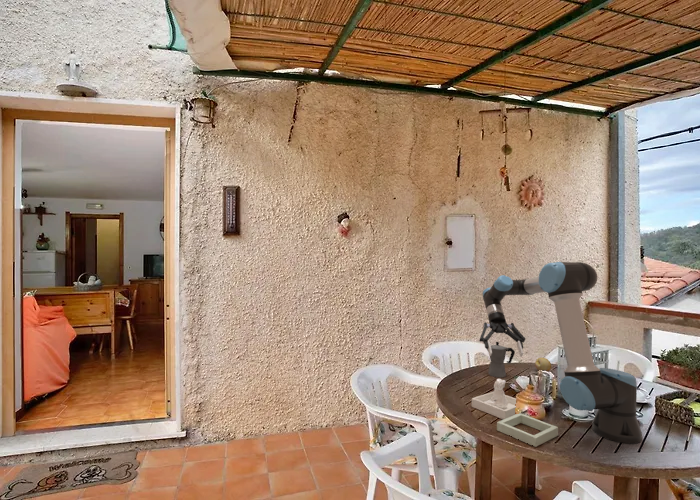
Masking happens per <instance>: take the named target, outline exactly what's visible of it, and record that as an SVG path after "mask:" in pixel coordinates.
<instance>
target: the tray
mask: <svg viewBox="0 0 700 500" xmlns="http://www.w3.org/2000/svg"><path fill="white" fill-rule="evenodd" d="M493 393H494V390H493V391H490V392H488V393H485V394H481V395H478V396H475V397H472V398H471V407H472V408H474V409H477V410H479V411H481V412H483V413H487V414H489V415H492V416H494V417H496V418H499V419H501V420H504V419H506V418H509V417H511V416H514V415H516V414H515V408H516V406H515V404H516V399H517V398H515V397H512V396H511V395H506V394H505V397H506V399H507V400H508V406H507V407H506V408H504V409H501V408H498V407H496V406H493V405H490V404H488V403H485V402H486V401H491V400H490V399H491V397H493Z"/></svg>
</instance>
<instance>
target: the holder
mask: <svg viewBox="0 0 700 500" xmlns="http://www.w3.org/2000/svg"><path fill="white" fill-rule="evenodd" d="M519 424H523V425H525V426H528V427H530V428H533V429H536V430H539V431H540V432H538V433H536V434H531V433H529V432H526V431H524V430H522V429H519V428H517V427H516V426H518V425H519ZM496 431H498V432H501V434H505V435H507V436H509V435H510V436H509V437H511V436H512V438H513V439H516V440H518V439H519V441H521V442H523V443H525V444H527V443H528V444H527V445H530V446H532V445H533V446H532V447H535V448H536V447H538V446H540V445H542V444H545V443H546V442H549V441H550V440H552V439H554V438H556V437H557V436H559V427H558V426H557V425H553V424H550V423H548V422H545V421H542V420H539V419H537V418H534V417H532V416H528V415H526V414H524V413H519V414H516V415H514V416H511V417H509V418H506V419H501V420H499V421H497V422H496Z"/></svg>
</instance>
